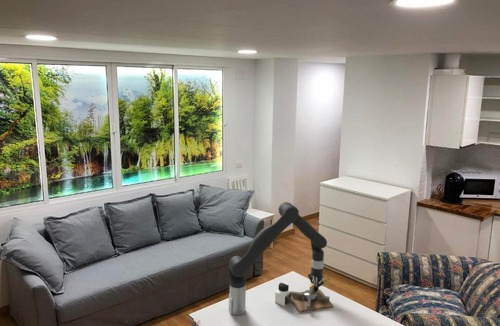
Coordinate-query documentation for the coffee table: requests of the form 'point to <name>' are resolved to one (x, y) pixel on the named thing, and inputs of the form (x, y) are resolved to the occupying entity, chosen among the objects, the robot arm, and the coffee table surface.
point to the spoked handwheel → (310, 296)
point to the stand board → (316, 305)
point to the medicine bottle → (283, 294)
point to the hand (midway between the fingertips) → (316, 290)
